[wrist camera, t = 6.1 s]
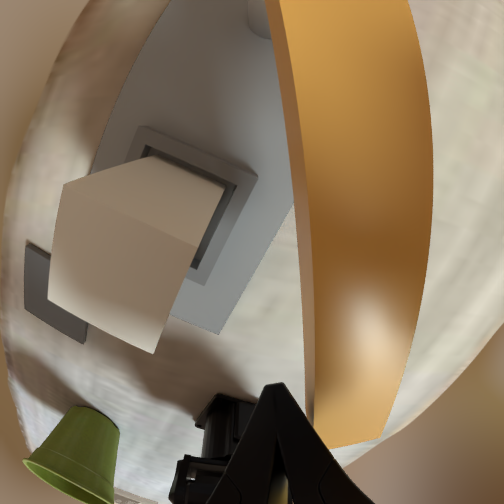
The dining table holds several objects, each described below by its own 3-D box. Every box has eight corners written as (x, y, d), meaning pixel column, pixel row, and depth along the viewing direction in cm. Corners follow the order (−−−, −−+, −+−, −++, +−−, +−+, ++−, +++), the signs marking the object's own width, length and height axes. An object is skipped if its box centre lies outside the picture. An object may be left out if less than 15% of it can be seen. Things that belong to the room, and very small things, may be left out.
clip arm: (228, -103, 3) (223, -140, 1) (329, -101, 3) (344, -135, 1) (297, 409, 10) (303, 453, 8) (373, 395, 9) (387, 435, 8)
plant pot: (129, 408, 26) (101, 494, 15) (142, 452, 30) (126, 518, 20) (43, 378, 25) (5, 446, 15) (69, 428, 30) (45, 485, 19)
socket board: (219, 326, 21) (203, 449, 11) (76, 259, 19) (-9, 343, 9) (368, 57, 13) (476, 7, 4) (192, -19, 11) (145, -117, 2)
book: (158, 500, 43) (157, 507, 41) (144, 506, 48) (143, 512, 46) (63, 460, 38) (60, 466, 37) (62, 472, 43) (60, 477, 41)
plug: (195, 251, 17) (153, 354, 9) (131, 221, 17) (47, 298, 8) (226, 185, 16) (198, 247, 8) (156, 154, 15) (63, 184, 7)
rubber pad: (85, 340, 22) (83, 344, 21) (27, 305, 21) (24, 308, 20) (95, 280, 19) (92, 284, 19) (29, 243, 18) (25, 246, 18)
